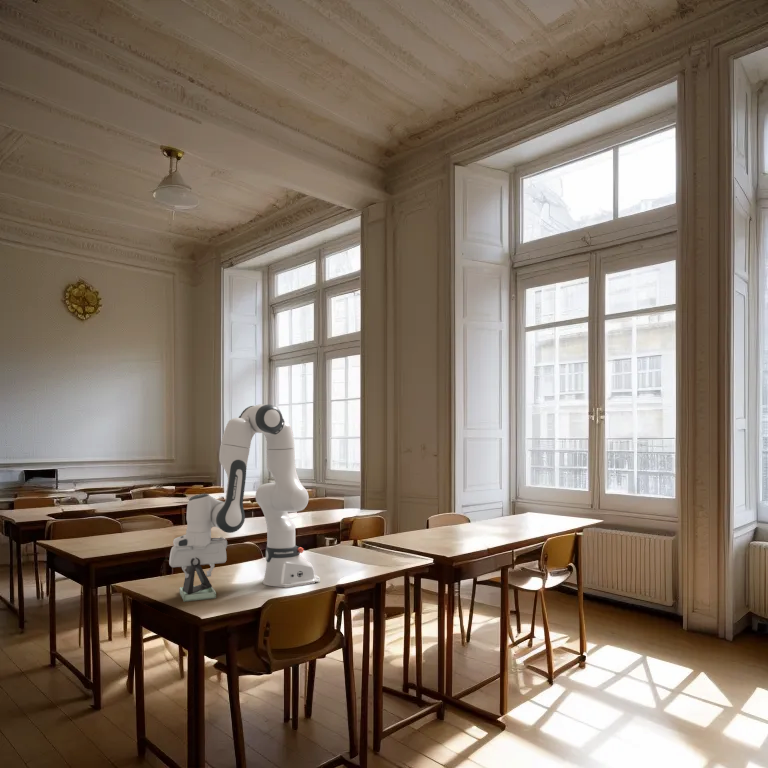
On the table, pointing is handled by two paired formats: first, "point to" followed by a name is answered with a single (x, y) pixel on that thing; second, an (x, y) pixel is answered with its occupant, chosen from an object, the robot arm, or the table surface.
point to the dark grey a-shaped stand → (190, 581)
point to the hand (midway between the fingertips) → (198, 577)
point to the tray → (198, 594)
